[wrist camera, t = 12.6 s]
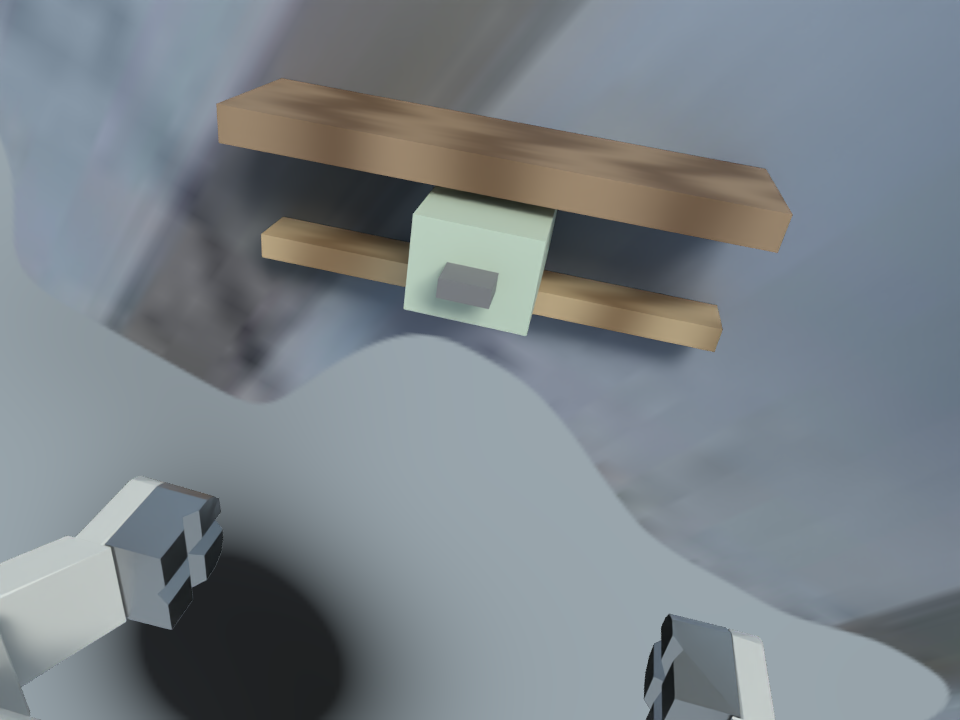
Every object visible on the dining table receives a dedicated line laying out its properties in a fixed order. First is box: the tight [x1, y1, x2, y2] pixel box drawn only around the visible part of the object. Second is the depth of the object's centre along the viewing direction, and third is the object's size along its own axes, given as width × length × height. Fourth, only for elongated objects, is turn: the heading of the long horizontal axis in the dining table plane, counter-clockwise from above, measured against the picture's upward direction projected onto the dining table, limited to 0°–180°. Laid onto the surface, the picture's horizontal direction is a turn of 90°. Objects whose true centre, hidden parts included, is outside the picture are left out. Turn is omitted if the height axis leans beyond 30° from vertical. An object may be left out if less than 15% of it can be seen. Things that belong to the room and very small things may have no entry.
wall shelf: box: [217, 78, 793, 352], centre depth 31 cm, size 22×8×6 cm, turn 82°
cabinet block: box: [404, 186, 557, 336], centre depth 30 cm, size 5×4×10 cm
